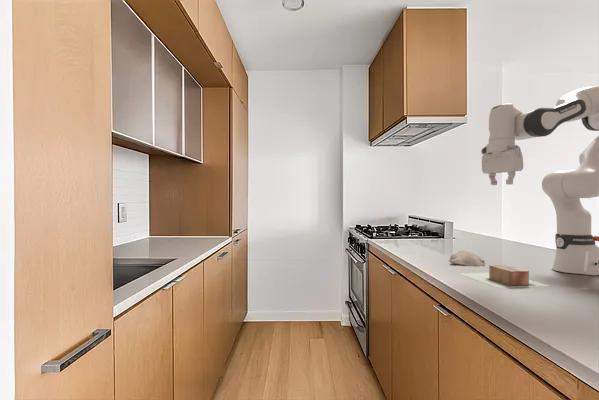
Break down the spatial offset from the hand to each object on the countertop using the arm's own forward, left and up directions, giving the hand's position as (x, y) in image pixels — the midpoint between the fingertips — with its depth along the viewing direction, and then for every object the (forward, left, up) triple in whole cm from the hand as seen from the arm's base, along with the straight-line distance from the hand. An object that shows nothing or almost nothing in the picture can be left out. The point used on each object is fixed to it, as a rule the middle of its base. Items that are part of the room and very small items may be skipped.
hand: (501, 184), depth 154 cm
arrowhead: (-3, -30, -34) cm, 46 cm away
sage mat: (+8, +12, -33) cm, 36 cm away
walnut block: (+8, +10, -30) cm, 33 cm away
